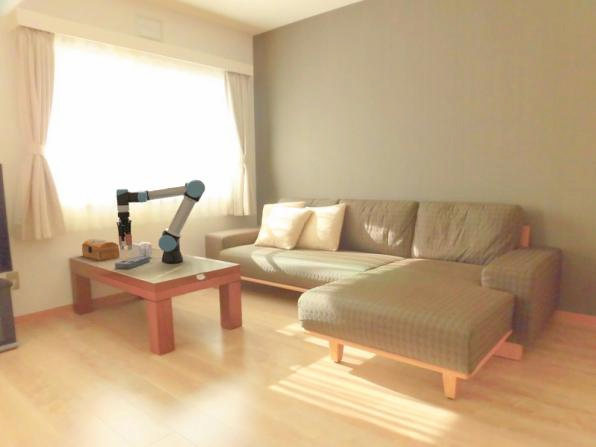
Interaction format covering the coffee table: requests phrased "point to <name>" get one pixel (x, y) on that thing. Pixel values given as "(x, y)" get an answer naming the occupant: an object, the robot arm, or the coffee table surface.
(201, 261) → the coffee table surface
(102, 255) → the wooden box
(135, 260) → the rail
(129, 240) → the clip
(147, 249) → the cable organizer
